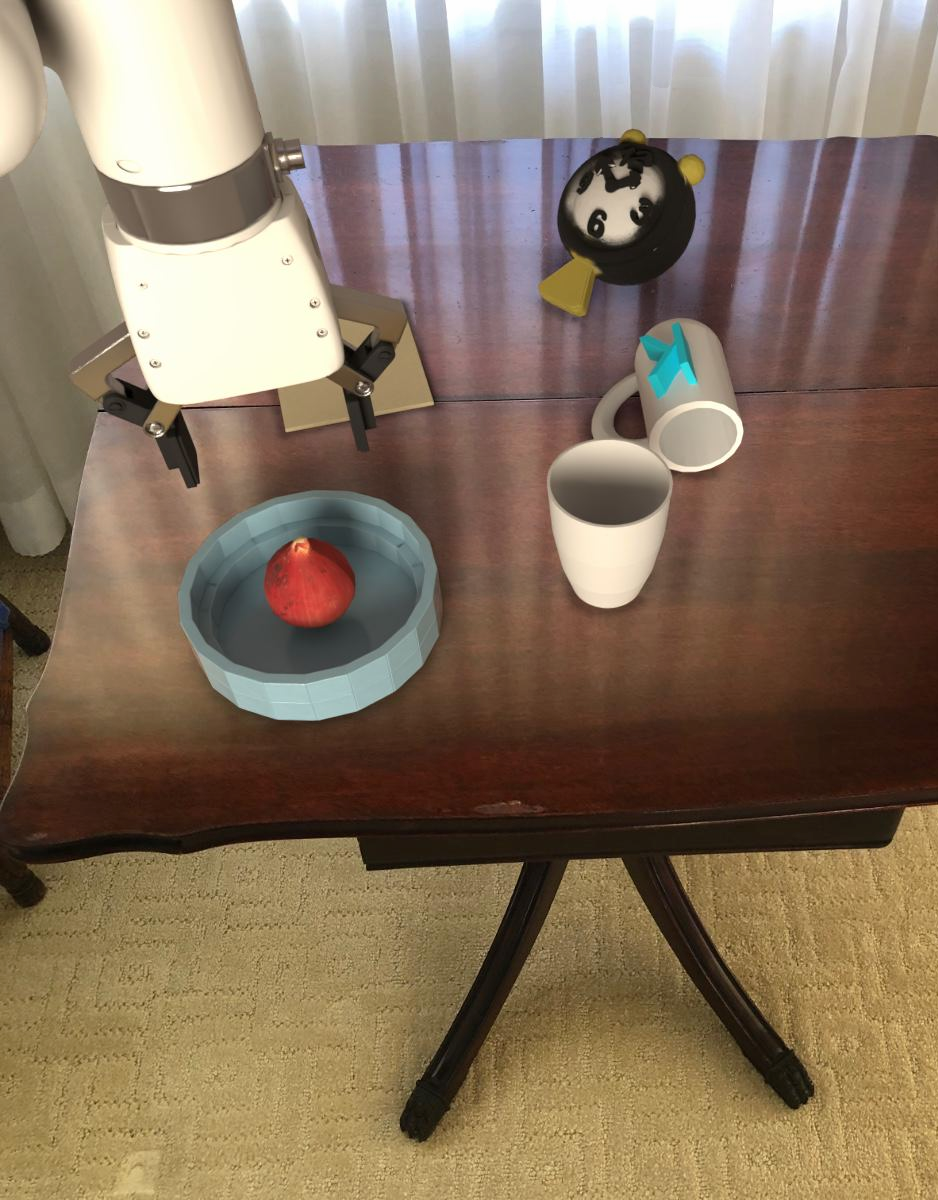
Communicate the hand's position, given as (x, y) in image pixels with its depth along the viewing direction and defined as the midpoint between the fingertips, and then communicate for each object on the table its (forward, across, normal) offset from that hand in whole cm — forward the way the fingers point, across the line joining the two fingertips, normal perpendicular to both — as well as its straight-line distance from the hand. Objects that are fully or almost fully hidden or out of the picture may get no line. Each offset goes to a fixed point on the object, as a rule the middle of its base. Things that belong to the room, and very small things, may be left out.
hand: (277, 453), depth 64 cm
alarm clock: (+17, -31, -33) cm, 48 cm away
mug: (+16, -28, -13) cm, 35 cm away
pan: (+16, +1, 0) cm, 16 cm away
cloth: (+16, -5, -27) cm, 32 cm away
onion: (+16, +1, 0) cm, 16 cm away
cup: (+16, -19, +2) cm, 25 cm away
